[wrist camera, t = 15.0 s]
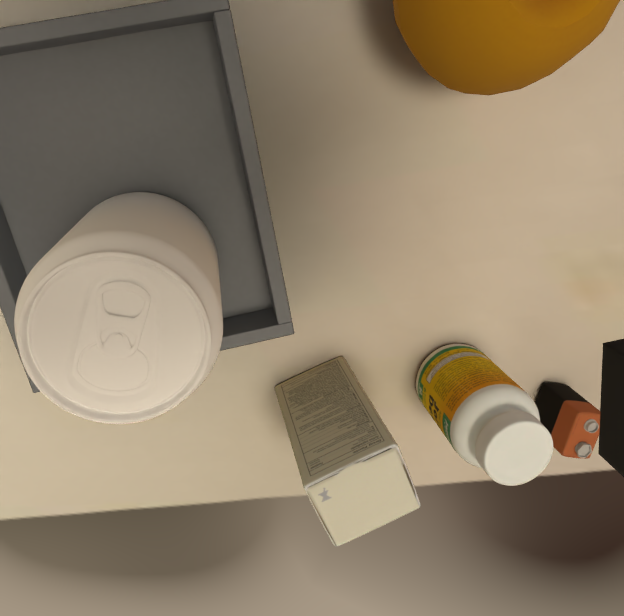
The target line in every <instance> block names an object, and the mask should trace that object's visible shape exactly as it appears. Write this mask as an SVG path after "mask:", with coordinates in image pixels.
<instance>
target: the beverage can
mask: <svg viewBox="0 0 624 616" xmlns="http://www.w3.org/2000/svg"><path fill="white" fill-rule="evenodd" d="M14 327H15V336H16V341H17V345H18V348H19V353H20V356H21V360H22V362H23V365H24V367H25V369H26V371H27V373H28V375H29V377H30V378H31V380H32V381H33V383H34V384H35V385H36V387H37V388H38V389H39V390H40V391H41V392H42V393H43V394H44V395H45V396H46V397H47V398H48V399H49V400H50V401H52V402H53V403H54V404H56V405H57V406H59V407H60V408H62V409H63V410H65V411H67V412H69V413H71V414H73V415H75V416H78V417H81V418H83V419H87V420H90V421H95V422H100V423H107V424H129V423H136V422H141V421H145V420H149V419H152V418H155V417H157V416H160V415H162V414H164V413H166V412H168V411H170V410H171V409H173V408H174V407H176V406H177V405H179V404H180V403H181V402H182V401H184V400H185V399H186V398H187V397H188V396H189V395H191V394H192V393H193V392H194V391H195V390H196V389H197V388H198V387H199V386H200V385H201V384H202V383H203V381H204V380H205V379H206V377H207V376H208V375H209V373H210V371H211V370H212V368H213V366H214V364H215V362H216V359H217V357H218V354H219V351H220V348H221V343H222V336H223V316H222V304H221V292H220V279H219V267H218V257H217V251H216V247H215V244H214V241H213V239H212V237H211V234H210V233H209V231H208V229H207V228H206V226H205V225H204V223H203V222H202V221H201V220H200V218H199V217H198V216H197V215H196V214H195V213H193V212H192V211H191V210H190V209H189V208H187V207H186V206H184V205H183V204H181V203H179V202H178V201H176V200H174V199H171V198H169V197H166V196H163V195H159V194H155V193H148V192H132V193H125V194H120V195H117V196H114V197H111V198H109V199H107V200H105V201H103V202H101V203H99V204H98V205H96V206H95V207H94V208H92V209H91V210H90V211H89V212H88V213H87V214H86V215H85V216H84V217H83V218H82V219H81V220H80V221H79V222H78V223H77V224H76V225H75V226H74V227H73V228H72V229H71V230H70V231H69V232H68V233H67V234H66V235H65V236H64V237H63V238H62V239H61V240H60V241H59V242H58V243H57V244H56V245H55V246H54V247H53V248H51V249H50V250H49V251H48V252H47V253H46V254H45V255H44V256H43V257H42V258H41V259H40V260H39V262H38V263H37V264H36V265H35V266H34V267H33V269H32V270H31V271H30V273H29V274H28V276H27V277H26V279H25V281H24V283H23V285H22V287H21V290H20V292H19V295H18V298H17V302H16V307H15V316H14Z"/></svg>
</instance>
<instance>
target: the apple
mask: <svg viewBox="0 0 624 616" xmlns="http://www.w3.org/2000/svg"><path fill="white" fill-rule="evenodd" d="M619 1H620V0H393V7H394V14H395V22H396V24H397V26H398V28H399V30H400V32H401V34H402V36H403V38H404V40H405V42H406V44H407V46H408V47H409V49H410V50H411V52H412V53H413V55H414V56H415V58H416V59H417V61H418V62H419V63H420V65H421V66H422V67H423V68H424V69H425V71H426V72H427V73H428V74H429V75H430V76H432V77H433V78H434V79H436V80H437V81H439V82H440V83H442V84H443V85H444V86H446V87H447V88H449V89H452V90H456V91H459V92H463V93H467V94H480V95H493V94H498V93H503V92H508V91H513V90H517V89H521V88H523V87H525V86H528V85H530V84H532V83H534V82H536V81H538V80H540V79H542V78H544V77H546V76H548V75H550V74H552V73H553V72H554V71H556V70H557V69H558V68H560V67H561V66H562V65H564V64H565V63H566V62H568V61H569V60H570V59H571V58H573V57H574V56H575V55H576V54H578V53H579V52H580V51H581V50H583V49H584V48H585V47H586V46H588V45H589V44H590V43H591V42H592V41H593V40H594V39H595V38H596V37H597V36H598V35H599V34H600V33H601V32H602V31H603V30H604V28H605V27H606V25H607V23H608V21H609V19H610V17H611V16H612V14H613V12H614V10H615V8H616V6H617V5H618V3H619Z"/></svg>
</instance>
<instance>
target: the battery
mask: <svg viewBox="0 0 624 616" xmlns="http://www.w3.org/2000/svg"><path fill="white" fill-rule="evenodd" d="M535 404H536V406H537V408H538V411H539V416H540V422H541V423H542V425H543V426H544V427H545V428H546V429H547V430H548V431H549V433H550V434H551V437H552V440H553V447H554V448H555V449H556V450H557V451H558V452H559V453H560V454H561V455H563V456H566V457H573V458H590V456H591V453H592V451H593V448H594V446H595V443H596V441H597V438H598V436H599V431H600V411H599V410H598V409H597V408H595V407H594V406H593V405H592V404H590V403H589V402H588V401H587V400H585V399H584V398H583V397H581V396H580V395H579V394H578V393H576V392H575V391H574V390H573V389H571V388H570V387H569V386H567V385H563V384H557V383H543V384H542V386H541V389H540V391H539V394H538V397H537V400H536V403H535Z"/></svg>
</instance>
